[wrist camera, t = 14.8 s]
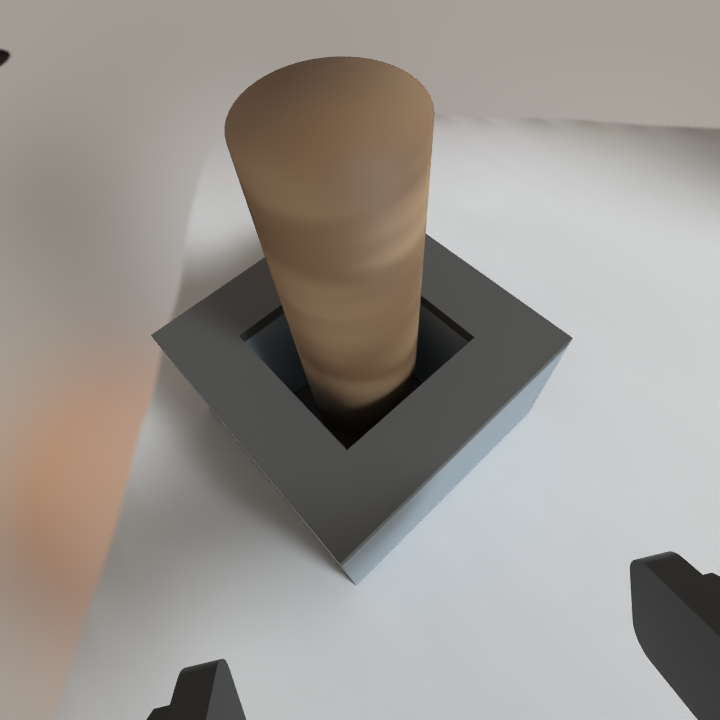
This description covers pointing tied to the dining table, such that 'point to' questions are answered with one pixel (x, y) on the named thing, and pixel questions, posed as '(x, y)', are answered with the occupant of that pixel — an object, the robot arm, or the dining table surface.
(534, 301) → the dining table surface
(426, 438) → the collar
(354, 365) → the walnut peg
